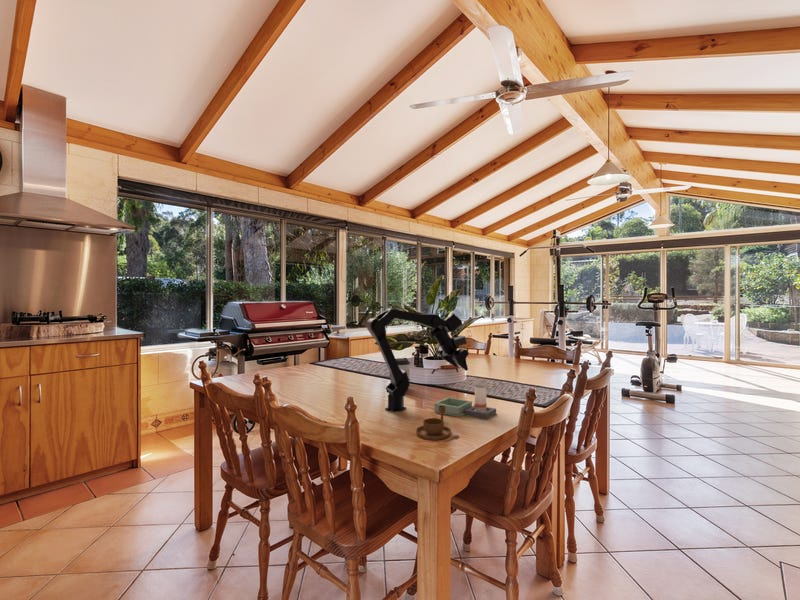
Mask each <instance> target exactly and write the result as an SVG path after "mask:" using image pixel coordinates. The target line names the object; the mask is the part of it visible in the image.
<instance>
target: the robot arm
mask: <svg viewBox="0 0 800 600" xmlns="http://www.w3.org/2000/svg"><path fill="white" fill-rule="evenodd" d="M394 319H398V320H402V321H403V320H404V321H407V322H413V323H417V324H419V325H422V326H424V327H428V328H431V330H430V329H429V330H428V334H427V336H428V337H429V338H435V340H436V342H437V346H438V347H439V348H438V349H437V351H436V354H437V356H438V357H440V358H441V359H443V360H444V361H446V362H448V363H449V364H450V365H452V366H453V367H454V368H457V367H458V366H459V367H461V368H462V369H463V370H464V371H466V372H467V371H469V367H468V364H467V363H468V362H467V357H468V355H469V354H470V353H469V350H467V349H465V348H460V346H462V345H466V344H467V345H468V341H467V337H466V336H465V335H458V334H457V333H455V334H454V332H456V331H457V330H458V329H460V328H461V327H462V326H463V322H462V320H461V319H460V318H459V316H457V315H456V314H455V313H454V312H453V313H450V314H449V315H448V316H447V317H446V318H444V319H443V318H441V316H440V315H438V314H434V313H416V312H411V311H405V310H401V309H396V308H392V307H390V308H387V309H386V310H385V311H383V312H382V313H380V314H377V315H376V316H375V317H370V318H369V319H368V320H367V321H366V324H365V326H366V329H367V330H368V332H369V334H370V336H371V337H372V338H373V339H374V340H375V341H376V344H377V346H378V349H379V351H380V353H381V355H382V358H383V360H384V362H385V364H386V367H387V369H388V371H389V373H388V374H389V380H390V382H389V383H388V385H386V387H385V390H386V392H387V407H385V408H384V409H385V410H386V411H390V412H395V413H399V412H401V411H405V410H407V407H406V406H405V403H404V401H405V400H404V399H405V398H404V397H405V396H406V393H407V390H408V389H409V388H410V381H411V380H410V377H409V378H408V376H407V372H406V371H404V370H402V369H400V368H399V366H398V364H397V361H396V359H397V358H395V355H394V352H393V350H392V347H391V345H390V342H389V340H388V339H387V329H386V326H388V325H389V324H390V323H391V322H392V321H393V320H394ZM449 333H451V334H452V335H451V336H450V335H449Z"/></svg>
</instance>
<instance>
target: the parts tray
mask: <svg viewBox="0 0 800 600" xmlns="http://www.w3.org/2000/svg"><path fill="white" fill-rule="evenodd" d="M439 406H445V413H444V414H443V415H449V416H454V417H457V418H458V417H461V416H463V415H465V410H466V409H468V408H470V407H472V406H473V401H471V400H466V399H460V398H454V397H445V398H443V399H441V400H439V401H437V402H434V405H433V407H434V411H433V412H434V413H439ZM439 414H440V413H439Z"/></svg>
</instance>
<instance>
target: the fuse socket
mask: <svg viewBox="0 0 800 600" xmlns="http://www.w3.org/2000/svg"><path fill="white" fill-rule="evenodd" d="M474 409H475V404H474V405H472V407H470V408H468V409H466V410H465V414H464V416H466V417H472V418H477V419H481V420H488V419H490V418H491V417H493V416H495V415H497V408H495V407H489V406H486V410H487V411H486V412H478V411H474Z"/></svg>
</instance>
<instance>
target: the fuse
mask: <svg viewBox="0 0 800 600" xmlns="http://www.w3.org/2000/svg"><path fill="white" fill-rule="evenodd" d="M487 383H488V382H487V380H483V379H475V380H474V381H473V384H474V385H473V386H474V405H475V409H474V411H478V412H486V411H487V410H486V407H488V406H487V386H488V385H487Z"/></svg>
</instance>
